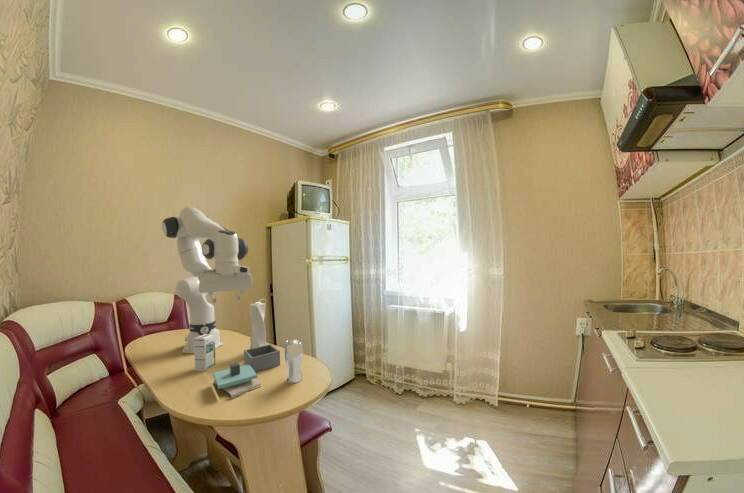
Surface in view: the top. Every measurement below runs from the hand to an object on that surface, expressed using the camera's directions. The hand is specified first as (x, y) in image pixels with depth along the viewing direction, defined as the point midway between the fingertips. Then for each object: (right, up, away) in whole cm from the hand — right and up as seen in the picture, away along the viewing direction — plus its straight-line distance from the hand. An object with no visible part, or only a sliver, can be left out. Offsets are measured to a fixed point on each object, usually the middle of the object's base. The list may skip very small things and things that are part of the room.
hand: (226, 301), depth 118 cm
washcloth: (+10, -31, -11) cm, 34 cm away
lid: (+9, -28, -11) cm, 31 cm away
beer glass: (+31, -30, -8) cm, 44 cm away
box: (+13, -30, +6) cm, 33 cm away
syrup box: (-12, -31, +5) cm, 34 cm away
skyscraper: (+6, -31, +20) cm, 37 cm away
